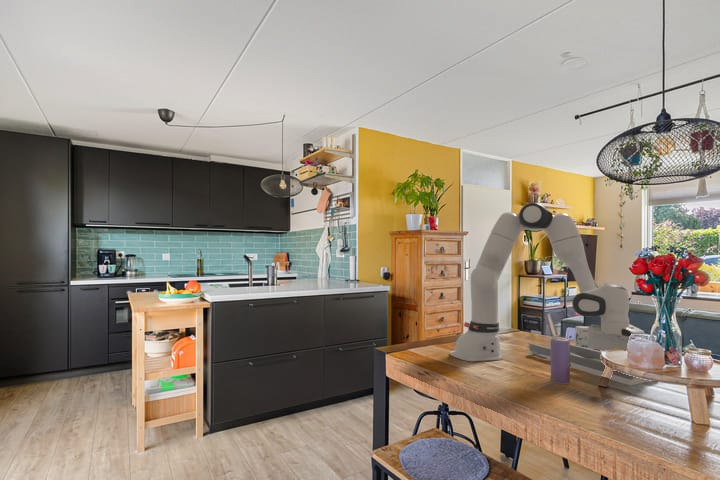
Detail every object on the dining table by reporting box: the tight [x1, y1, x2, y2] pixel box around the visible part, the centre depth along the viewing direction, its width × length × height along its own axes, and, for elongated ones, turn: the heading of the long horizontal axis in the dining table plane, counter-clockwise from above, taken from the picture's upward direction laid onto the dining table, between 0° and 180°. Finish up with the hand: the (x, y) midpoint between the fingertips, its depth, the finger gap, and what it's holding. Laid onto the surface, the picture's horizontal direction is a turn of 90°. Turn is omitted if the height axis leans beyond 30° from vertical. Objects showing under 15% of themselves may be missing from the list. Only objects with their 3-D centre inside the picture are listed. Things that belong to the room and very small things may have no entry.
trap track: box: [528, 342, 651, 387], centre depth 153 cm, size 16×42×6 cm, turn 25°
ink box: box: [575, 325, 601, 351], centre depth 172 cm, size 9×5×12 cm, turn 84°
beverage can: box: [550, 336, 571, 385], centre depth 133 cm, size 6×6×15 cm
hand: (615, 365), depth 143 cm, fingers closed
